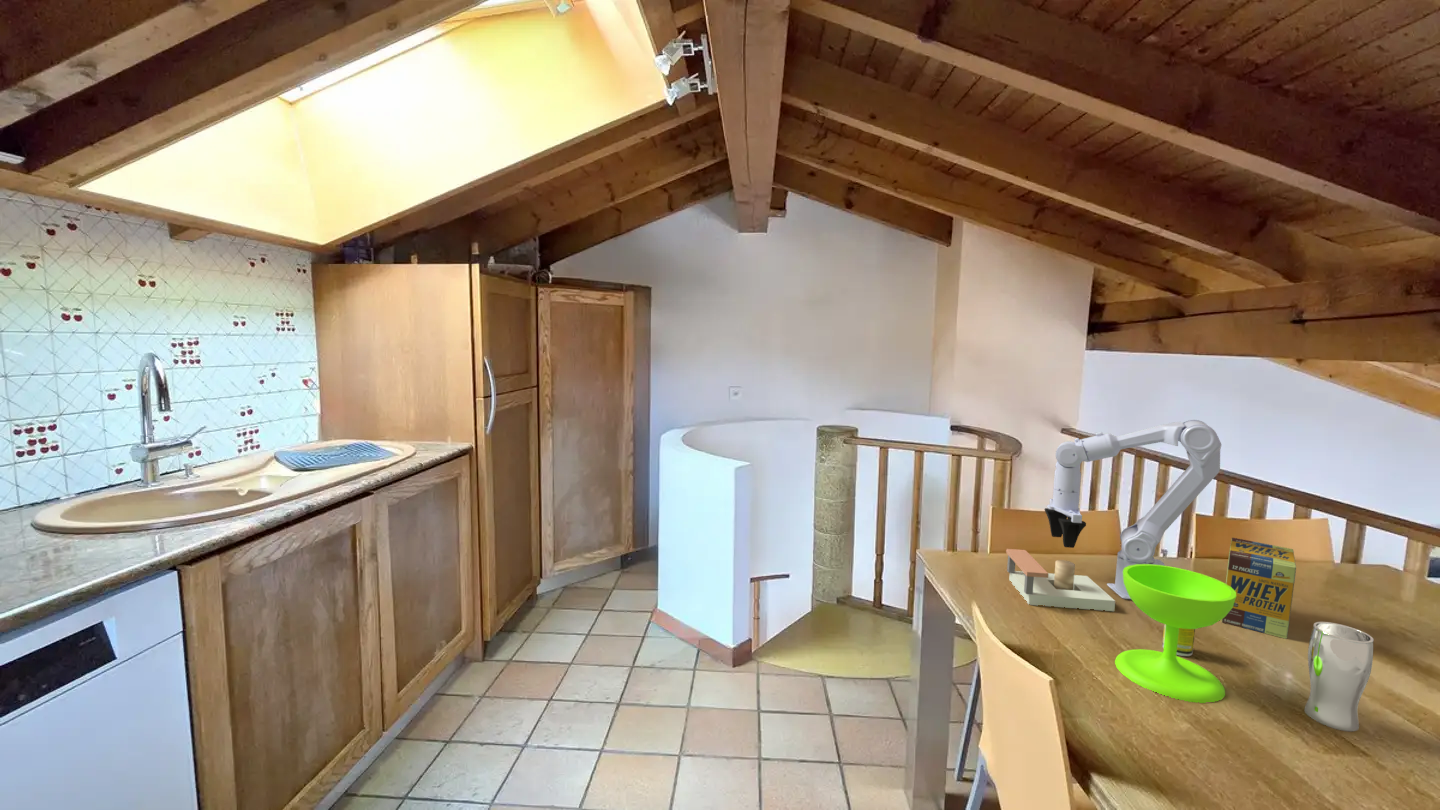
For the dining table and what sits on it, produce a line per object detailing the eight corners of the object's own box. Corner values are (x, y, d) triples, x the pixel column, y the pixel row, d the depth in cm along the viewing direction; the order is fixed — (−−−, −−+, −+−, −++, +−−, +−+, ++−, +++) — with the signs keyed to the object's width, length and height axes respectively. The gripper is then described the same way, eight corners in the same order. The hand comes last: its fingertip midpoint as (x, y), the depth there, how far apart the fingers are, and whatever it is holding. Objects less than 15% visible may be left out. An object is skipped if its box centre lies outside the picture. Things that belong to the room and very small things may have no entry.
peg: (1068, 592, 140) (1070, 560, 140) (1075, 599, 137) (1078, 566, 136) (1050, 591, 141) (1052, 559, 140) (1057, 598, 137) (1059, 565, 136)
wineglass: (1234, 714, 95) (1246, 610, 93) (1116, 683, 103) (1125, 586, 101) (1215, 668, 108) (1226, 575, 106) (1112, 644, 117) (1120, 558, 115)
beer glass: (1288, 706, 97) (1299, 621, 95) (1326, 704, 97) (1337, 620, 96) (1335, 735, 90) (1348, 643, 88) (1376, 732, 91) (1389, 642, 89)
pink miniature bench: (1023, 570, 147) (1025, 550, 146) (1046, 596, 132) (1048, 573, 132) (1005, 569, 148) (1006, 548, 147) (1025, 595, 133) (1027, 572, 132)
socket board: (1086, 585, 144) (1087, 575, 144) (1114, 611, 131) (1115, 600, 130) (1009, 580, 147) (1009, 570, 147) (1028, 604, 134) (1029, 594, 133)
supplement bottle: (1198, 658, 112) (1202, 616, 111) (1170, 655, 112) (1174, 614, 112) (1183, 645, 116) (1187, 605, 115) (1157, 643, 117) (1160, 603, 116)
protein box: (1220, 623, 126) (1228, 554, 124) (1224, 600, 137) (1231, 536, 135) (1288, 640, 119) (1297, 567, 117) (1285, 614, 130) (1294, 547, 128)
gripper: (1038, 481, 153) (1035, 531, 155) (1061, 496, 139) (1057, 550, 141) (1067, 483, 152) (1063, 533, 154) (1093, 497, 138) (1088, 552, 139)
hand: (1062, 541), depth 147 cm, fingers open, 7 cm apart
